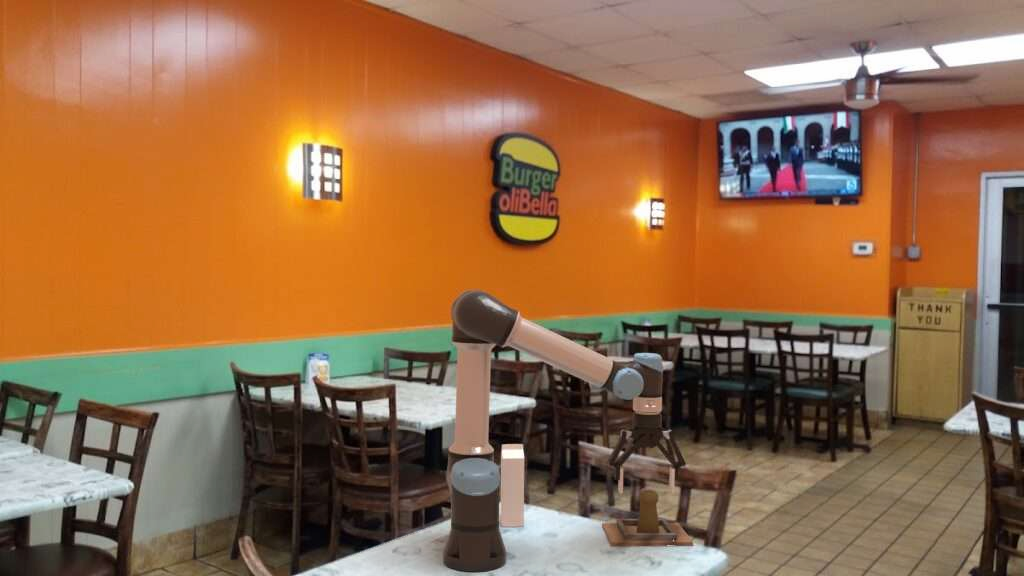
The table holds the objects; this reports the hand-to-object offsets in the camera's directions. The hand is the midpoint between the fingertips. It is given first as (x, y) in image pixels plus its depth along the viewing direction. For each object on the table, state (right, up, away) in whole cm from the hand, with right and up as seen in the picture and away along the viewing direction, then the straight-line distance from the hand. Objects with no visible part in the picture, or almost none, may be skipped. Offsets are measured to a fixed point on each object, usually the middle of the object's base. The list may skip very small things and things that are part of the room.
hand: (646, 492), depth 216 cm
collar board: (0, -12, 0) cm, 12 cm away
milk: (-35, -11, +10) cm, 38 cm away
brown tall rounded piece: (0, -11, 0) cm, 11 cm away
